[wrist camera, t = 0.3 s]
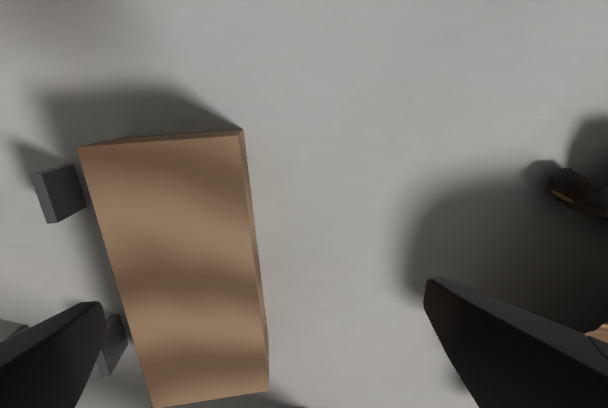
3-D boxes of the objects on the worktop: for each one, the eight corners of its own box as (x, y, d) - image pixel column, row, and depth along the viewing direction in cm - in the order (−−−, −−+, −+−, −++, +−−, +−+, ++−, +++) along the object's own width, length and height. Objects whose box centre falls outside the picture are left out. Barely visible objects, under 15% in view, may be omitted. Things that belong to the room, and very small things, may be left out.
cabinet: (268, 339, 26) (269, 390, 21) (39, 372, 24) (-15, 435, 19) (243, 129, 20) (236, 135, 16) (-58, 150, 19) (-167, 164, 14)
